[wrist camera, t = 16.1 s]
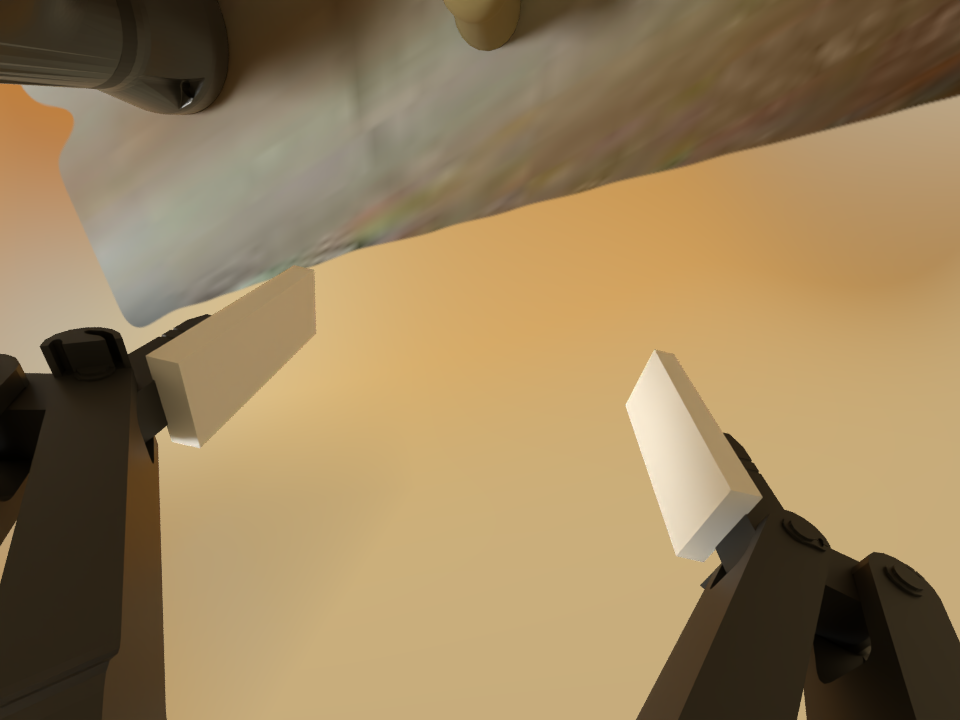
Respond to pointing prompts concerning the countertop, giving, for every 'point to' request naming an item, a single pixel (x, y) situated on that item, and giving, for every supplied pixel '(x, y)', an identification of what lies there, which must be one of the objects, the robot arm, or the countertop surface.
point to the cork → (485, 21)
